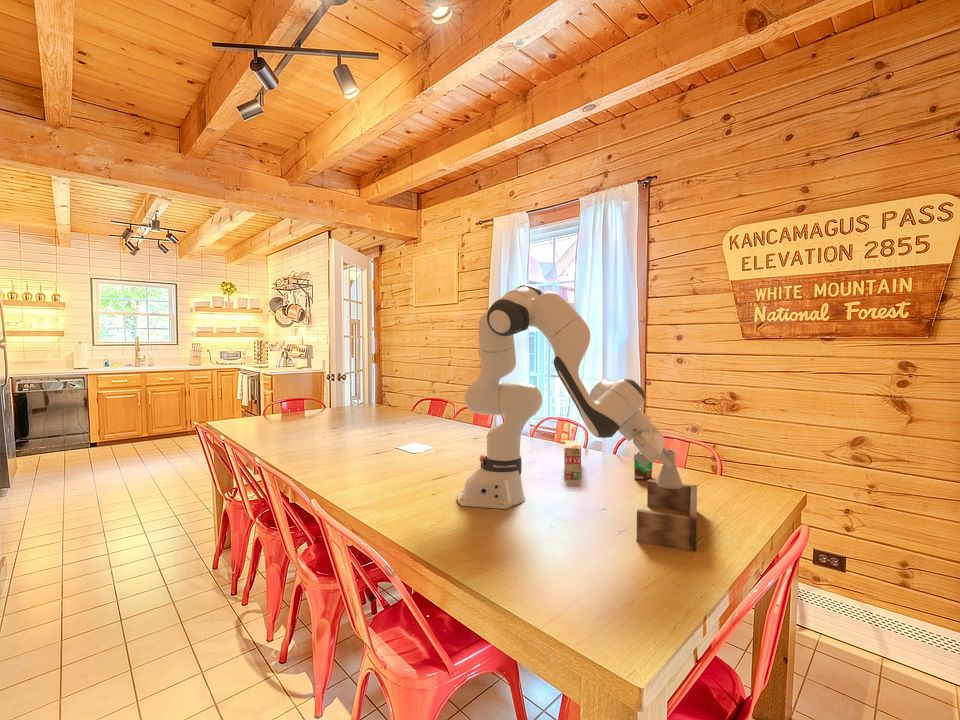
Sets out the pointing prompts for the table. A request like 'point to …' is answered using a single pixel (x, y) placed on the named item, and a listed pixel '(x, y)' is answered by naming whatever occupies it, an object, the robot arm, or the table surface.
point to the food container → (642, 467)
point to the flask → (669, 473)
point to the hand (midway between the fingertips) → (671, 463)
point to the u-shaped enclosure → (669, 517)
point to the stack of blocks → (572, 460)
